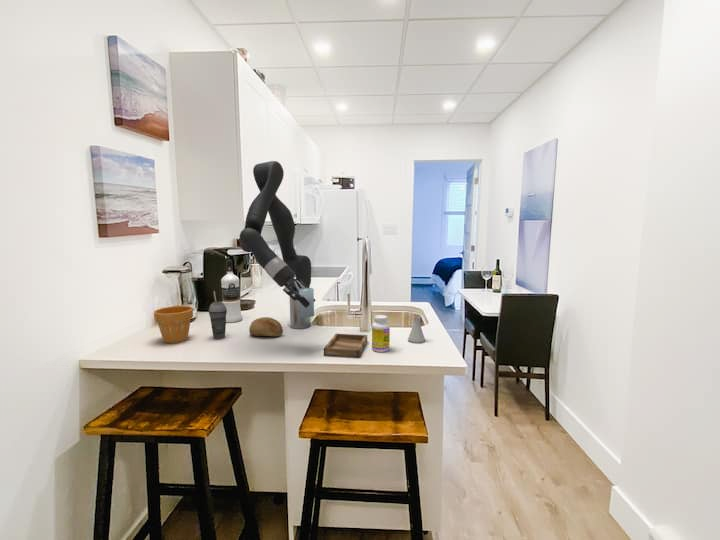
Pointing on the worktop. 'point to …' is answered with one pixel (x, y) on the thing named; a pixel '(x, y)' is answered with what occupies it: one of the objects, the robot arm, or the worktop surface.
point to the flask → (416, 331)
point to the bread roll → (265, 327)
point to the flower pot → (174, 322)
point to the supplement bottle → (380, 334)
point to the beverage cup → (218, 318)
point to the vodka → (231, 295)
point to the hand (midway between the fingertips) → (310, 303)
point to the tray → (345, 345)
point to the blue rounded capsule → (309, 296)
